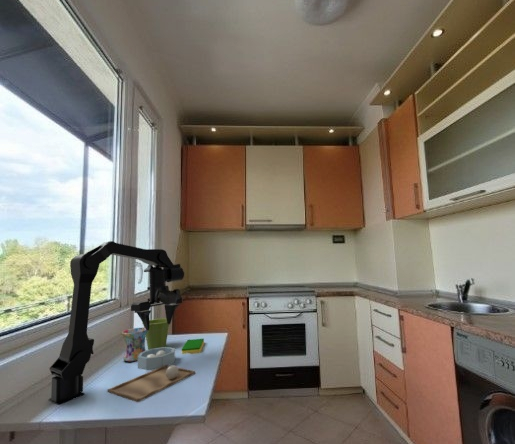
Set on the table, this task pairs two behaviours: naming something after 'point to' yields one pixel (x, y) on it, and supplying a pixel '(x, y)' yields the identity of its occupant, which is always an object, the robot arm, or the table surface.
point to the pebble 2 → (172, 372)
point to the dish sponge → (193, 346)
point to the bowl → (156, 358)
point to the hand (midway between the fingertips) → (158, 327)
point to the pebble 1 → (160, 353)
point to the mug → (134, 343)
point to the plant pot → (157, 333)
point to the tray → (148, 384)
